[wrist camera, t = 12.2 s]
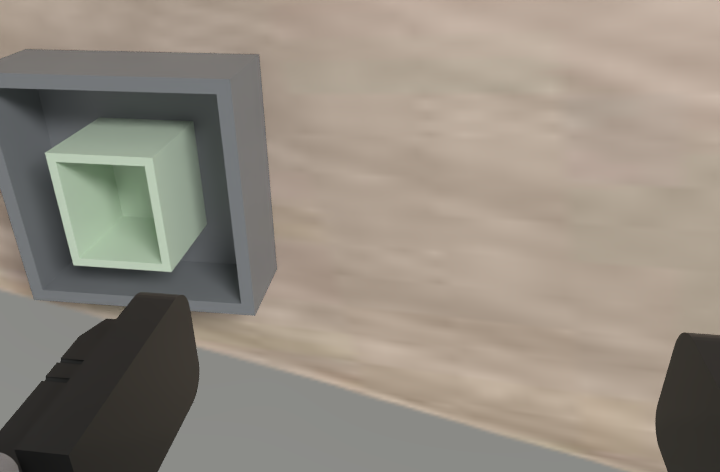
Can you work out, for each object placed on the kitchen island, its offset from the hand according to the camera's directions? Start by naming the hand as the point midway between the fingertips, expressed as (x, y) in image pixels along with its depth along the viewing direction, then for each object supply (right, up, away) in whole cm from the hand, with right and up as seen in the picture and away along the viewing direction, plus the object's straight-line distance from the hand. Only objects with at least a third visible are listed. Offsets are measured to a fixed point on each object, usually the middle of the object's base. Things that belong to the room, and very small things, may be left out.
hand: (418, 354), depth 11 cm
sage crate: (-14, +6, +30) cm, 34 cm away
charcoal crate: (-14, +6, +31) cm, 35 cm away
